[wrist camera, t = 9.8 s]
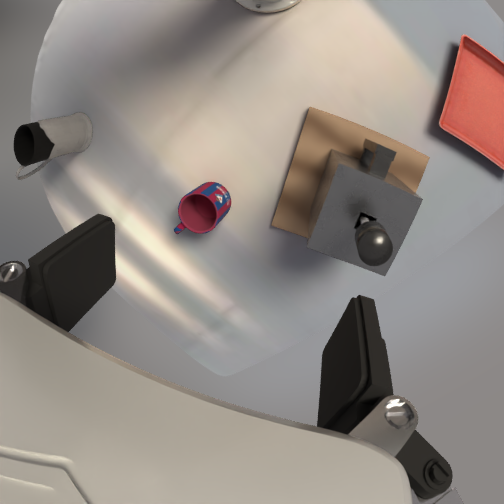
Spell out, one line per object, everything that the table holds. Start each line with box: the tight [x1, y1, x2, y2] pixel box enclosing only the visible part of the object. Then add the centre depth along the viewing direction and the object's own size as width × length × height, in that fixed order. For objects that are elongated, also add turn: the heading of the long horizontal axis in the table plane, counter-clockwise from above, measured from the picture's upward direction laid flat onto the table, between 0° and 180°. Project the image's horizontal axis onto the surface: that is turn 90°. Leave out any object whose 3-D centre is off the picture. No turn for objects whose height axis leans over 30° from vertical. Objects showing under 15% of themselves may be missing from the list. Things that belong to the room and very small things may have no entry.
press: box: [307, 138, 423, 276], centre depth 36 cm, size 13×10×15 cm
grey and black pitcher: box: [14, 112, 93, 180], centre depth 44 cm, size 9×14×15 cm, turn 131°
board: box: [271, 107, 430, 238], centre depth 44 cm, size 20×20×2 cm
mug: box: [174, 182, 231, 234], centre depth 48 cm, size 7×10×7 cm
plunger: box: [355, 212, 393, 266], centre depth 33 cm, size 8×8×21 cm
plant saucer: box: [439, 35, 504, 170], centre depth 31 cm, size 18×18×3 cm
